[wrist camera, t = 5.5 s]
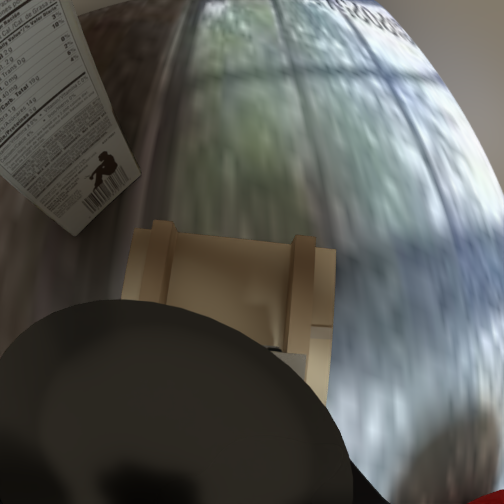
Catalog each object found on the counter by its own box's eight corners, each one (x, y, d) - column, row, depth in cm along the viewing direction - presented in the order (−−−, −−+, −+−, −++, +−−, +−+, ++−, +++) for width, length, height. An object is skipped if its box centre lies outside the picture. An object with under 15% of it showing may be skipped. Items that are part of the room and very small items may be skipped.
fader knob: (267, 419, 14) (369, 612, 1) (161, 406, 14) (-28, 529, 1) (275, 344, 15) (440, 325, 3) (169, 332, 15) (-40, 262, 2)
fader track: (293, 548, 13) (302, 574, 10) (118, 526, 12) (102, 548, 10) (328, 257, 18) (344, 240, 15) (142, 237, 18) (126, 217, 15)
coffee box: (23, 167, 19) (-89, 25, 4) (82, 113, 21) (7, -53, 5) (74, 242, 18) (-110, 66, 2) (146, 173, 19) (56, -67, 4)
